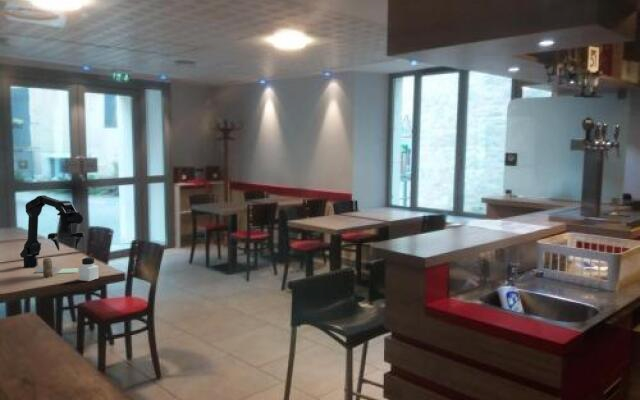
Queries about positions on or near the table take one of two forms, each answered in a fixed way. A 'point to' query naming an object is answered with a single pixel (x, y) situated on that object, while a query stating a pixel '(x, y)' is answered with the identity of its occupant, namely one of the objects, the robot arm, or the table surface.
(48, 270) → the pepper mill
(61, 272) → the sage coaster
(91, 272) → the medicine bottle
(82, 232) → the robot arm
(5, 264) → the table surface
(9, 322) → the table surface
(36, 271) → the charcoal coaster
